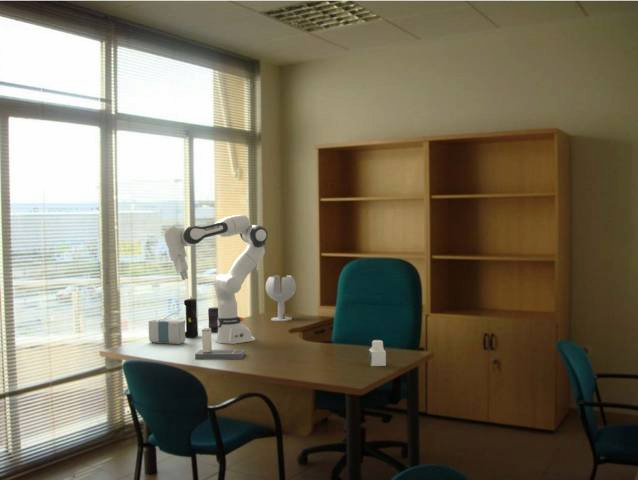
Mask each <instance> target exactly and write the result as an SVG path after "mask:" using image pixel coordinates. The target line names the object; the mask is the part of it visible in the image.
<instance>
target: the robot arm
mask: <svg viewBox="0 0 638 480" xmlns="http://www.w3.org/2000/svg"><path fill="white" fill-rule="evenodd" d="M163 234H164V240H165V244H166V246H167V248H168V254H169V257H170V261H171V262H173V265H174V267H175V270H176V272H177V273H178V274H180V277H181V280H182V281H185V280H188V279H189V276H188V271H187V270H189V267H188V264H187V260H186V257H188V254H187V252H186V249H185V247H192V246H194V245H196V244H199V243H201V241H203V240H205V238H209V237H213V236H220V237H221V238H225V237H232V236H236V235H239V236H240V238H241V240H242V241H244V242H245V243H247V246H246V248H245V249H244V250H243V251H242V252H241V253H240V254H239V256H238V257H237V258H236V259H235V260H234V262H232V266H231V268H229V271H228V272H227V273H225V272H224V273H219V274H217V275H216V276H215V277H214V279H213V286H214V289H215V295H216V300H217V307H218V320H217V324H218V332H217V336H216V340H215V342H216V343H220V344H230V345H231V344H232V345H233V344H242V343H246V342H254V341H256V338H255V337H254V336H252V333H251V329H250V328H249V327H247V326H246V325H245V324H243V323H242V322H244V318H243V317H242V316H241V317H240V316H238V301H237V299H236V295H235V294H237V293H239V292H240V291H241V289H242V286H243V284H244V281H245V280H246V278H248V276H249V274H250V273H251V272H252V271H253V269H255V268H256V266H257V265H258V264H259V262H260V261H261V260H262V258H263V257H264V255H265V254H266V251H265V250H266V249H265V247H264V246H265V245H266V242H267V240H268V234H269V233H268V231H267V229H266V228H265V227H263V226H262V225H257V224H251V221H250V219H249V217H248V216H246V215H244V214H237V215H231V216H227V217H223V218H222V219H219V220H218V221H216V222H215V223H212V224H209V225H204V226H199V225H190V226H187V228H182V227H179V226H177V225H173V226H170V227H169V228H166V230H164V233H163Z"/></svg>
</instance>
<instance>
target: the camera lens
mask: <svg viewBox="0 0 638 480" xmlns="http://www.w3.org/2000/svg"><path fill="white" fill-rule="evenodd" d="M207 313H208V316H207V317H208V328H211V333H218V324H217V320H218V306H217V307H216V306H215V307H208V312H207Z"/></svg>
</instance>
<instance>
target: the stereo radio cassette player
mask: <svg viewBox="0 0 638 480" xmlns="http://www.w3.org/2000/svg"><path fill="white" fill-rule="evenodd" d="M180 311H181V309H179V310H177V311H175V312H173V313H172V314H169V315H168V316H166V317H164V318H155V319H150V320H148V340H149V342H151V343H152V342H153V343H158V344H170V345H171V344H172V345H180V344H185V342H186V337H185V332H186V319H183V320H182V319H167V318H169V317H171V316H173V315H175V314H176V313H178V312H180Z"/></svg>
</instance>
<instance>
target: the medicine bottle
mask: <svg viewBox="0 0 638 480" xmlns="http://www.w3.org/2000/svg"><path fill="white" fill-rule="evenodd" d="M368 363H369V364H370V366H371V367H386V366H387V352H386V350H385V349H384V340H382V339H376V338H375V339H372V340H370V348H369V349H368Z"/></svg>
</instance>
